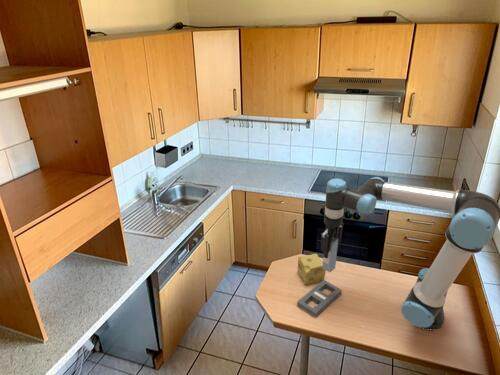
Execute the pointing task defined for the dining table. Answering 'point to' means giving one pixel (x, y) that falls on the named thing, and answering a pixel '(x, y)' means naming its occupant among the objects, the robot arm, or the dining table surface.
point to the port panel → (319, 298)
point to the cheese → (311, 269)
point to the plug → (331, 256)
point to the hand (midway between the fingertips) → (329, 260)
